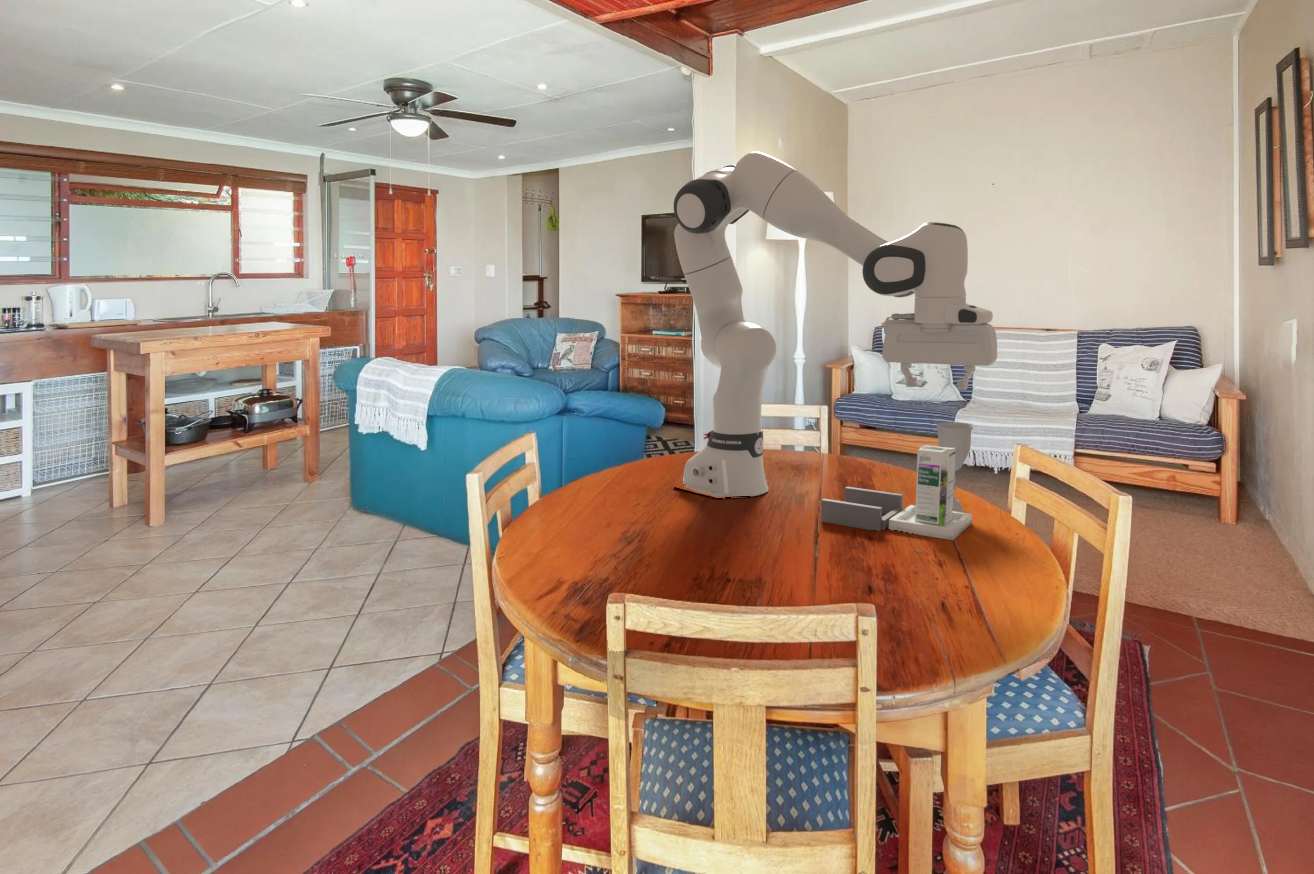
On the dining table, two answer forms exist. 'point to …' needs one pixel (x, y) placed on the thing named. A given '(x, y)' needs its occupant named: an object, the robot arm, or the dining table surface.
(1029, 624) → the dining table surface
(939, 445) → the chalice
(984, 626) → the dining table surface
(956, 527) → the tray
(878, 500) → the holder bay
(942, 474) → the syrup box
